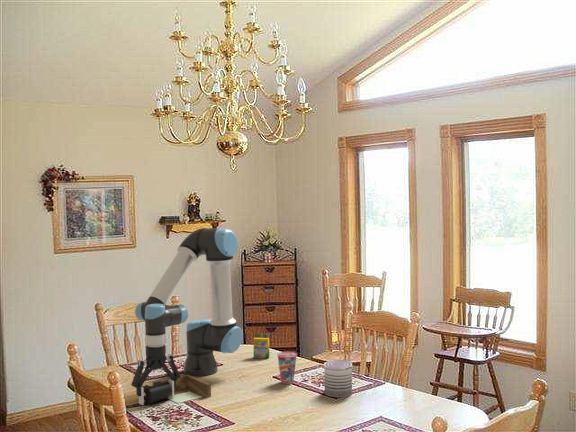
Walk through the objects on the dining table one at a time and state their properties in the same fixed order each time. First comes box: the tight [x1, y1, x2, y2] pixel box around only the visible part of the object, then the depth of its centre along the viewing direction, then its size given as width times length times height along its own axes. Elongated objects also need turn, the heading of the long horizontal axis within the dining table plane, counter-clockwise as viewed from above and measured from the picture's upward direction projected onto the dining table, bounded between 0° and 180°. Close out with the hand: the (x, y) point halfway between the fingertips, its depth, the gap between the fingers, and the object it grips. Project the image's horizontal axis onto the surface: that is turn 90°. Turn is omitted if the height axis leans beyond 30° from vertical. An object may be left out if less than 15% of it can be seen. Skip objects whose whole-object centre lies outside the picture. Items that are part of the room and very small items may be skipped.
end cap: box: [142, 381, 172, 406], centre depth 247 cm, size 10×7×7 cm
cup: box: [277, 351, 298, 385], centre depth 270 cm, size 9×8×12 cm
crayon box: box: [253, 333, 270, 360], centre depth 311 cm, size 7×3×12 cm, turn 80°
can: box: [323, 359, 353, 398], centre depth 255 cm, size 11×11×12 cm
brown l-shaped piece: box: [152, 374, 212, 398], centre depth 254 cm, size 16×18×5 cm
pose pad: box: [166, 391, 202, 404], centre depth 252 cm, size 11×9×1 cm
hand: (156, 400), depth 247 cm, fingers open, 12 cm apart
